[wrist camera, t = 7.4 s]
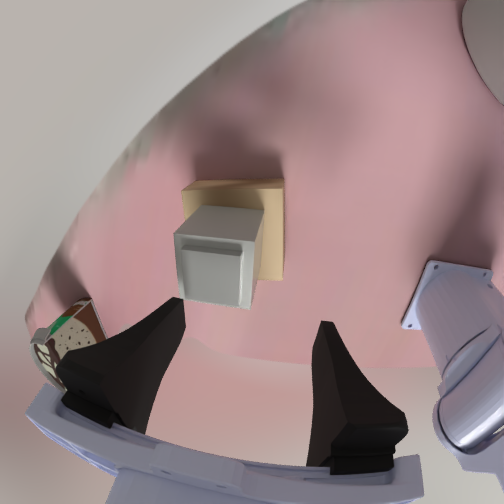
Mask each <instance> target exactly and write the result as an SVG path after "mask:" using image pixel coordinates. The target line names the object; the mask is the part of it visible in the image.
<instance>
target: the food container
mask: <svg viewBox="0 0 504 504" xmlns="http://www.w3.org/2000/svg"><path fill="white" fill-rule="evenodd" d="M106 339H108V337H107V335H106V333H105V330H104V328H103V325H102V323H101V321H100V318H99V316H98V313H97V311H96V308H95V305H94V303H93V300H92V298H83V299H80V300H78V301H77V302H76V303H75V304H74V305H73V306H71V307H70V308H69V309H68V310H67V311H66V312H64V313H63V314H62V315H61V316H60V317H59V318H58V319H57V320H55V321H54V322H53V323H52V324H51V325H50V326H49V327H48V328H39V329H37V330H36V332H35V334H34V336H33V338H32V340H31V344H30V347H29V351H30V354H31V357H32V359H33V361H34V362H35V364H36V366H37V367H38V368H39V370H40V371H41V372H42V373H43V375H44V376H45V377H46V378H47V379H48V380H49V381H50V382H51V383H52V384H53V385H54V386H55V387H56V388H57V389H59V390H60V391H62V392H63V393H64V394H65V393H66V391H67V389H66V388H65V386H64V385H63V383H62V382H61V380H60V378H59V377H58V375H57V373H56V369H55V368H56V366H57V364H58V363H59V362H60V360H61V359H62V358H63V356H64V355H65V354H66V353H67V351H69V350H74V349H78V348H83V347H86V346H90V345H93V344H96V343H99V342H101V341H104V340H106Z"/></svg>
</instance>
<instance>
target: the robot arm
mask: <svg viewBox="0 0 504 504" xmlns="http://www.w3.org/2000/svg"><path fill="white" fill-rule="evenodd" d="M435 265H437V266H436V267H435V268H434V266H435ZM492 276H493V271H492V270H489V269H483V268H477V267H472V266H466V265H459V264H453V263H447V262H441V261H435V260H430V261H429V262H428V263H427V264H426V267H425V270H424V272H423V275H422V278H421V280H420V283H419V285H418V287H417V290H416V292H415V295H414V297H413V299H412V301H411V304H410V306H409V308H408V310H407V312H406V315H405V317H404V319H403V321H402V323H401V326H402V328H403V329H416V330H422V331H423V333H424V335H425V338H426V340H427V342H428V345H429V347H430V350H431V352H432V355H433V357H434V360H435V362H436V365H437V367H438V370H439V373H440V375H441V378H442V382H441V384H440V385H439V386H438V391H439V394H440V399H439V400H438V401H437V403H436V404H435V406H434V409H433V426H434V430H435V433H436V436H437V438H438V440H439V441H440V442H441V444H442V445H443V446H444V447H445V448H446V449H448V450H449V451H450V452H451V453H453V454H454V456H456V458H457V459H458V461H459V463H460V465H461V467H462V469H463V470H464V471H468V472H475V473H489V474H495V475H496V476H497V478H498V480H499V483H500V485H501V487H502V489H503V492H504V429H502V430H501V431H499V432H497V433H495V434H493V433H494V432H495V431H497V430H498V429H499V428H500V427H502V426H503V425H504V296H503V295H502V294H501V293H500V291H499V290H498V289H497V288H496V287H495V285H494V284H493V283H492V282H491V279H492ZM409 324H410V325H409ZM185 328H186V324H185V313H184V302H183V299H180V298H175V297H172V298H171V299H169V300H168V301H167V302H165V303H164V304H163V305H161V306H160V307H159V308H158V309H156V310H155V311H154V312H152V313H151V314H150V315H148V316H147V317H145V318H144V319H143V320H141V321H140V322H138V323H137V324H135V325H133V326H132V327H130V328H129V329H127V330H125V331H124V332H121V333H119V334H117V335H115V336H113V337H111V338H108V339H106V340H104V341H101V342H99V343H96V344H93V345H90V346H86V347H83V348H78V349H74V350H69V351H67V353H66V354H65V355H64V356H63V358H62V359H61V360H60V362H59V363H58V364H57V366H56V368H55V369H56V373H57V375H58V377H59V378H60V380H61V382H62V383H63V385H64V386H65V388H66V389H67V391H66V393H65V394H64V393H63V392H62V391H60V390H59V389H57V388H55V387H54V386H52V385H50V384H49V383H45V384H44V386H43V387H42V389H41V390H40V391H39V393H38V394H37V396H36V397H35V399H34V400H33V402H32V403H31V405H30V406H29V407H28V409H27V411H26V412H25V415H26V416H27V417H28V418H29V419H30V420H31V421H32V422H33V423H34V424H35V425H36V426H37V427H38V428H39V429H40V430H41V431H42V432H43V433H44V434H45V435H46V436H47V437H49V438H50V439H52V440H53V441H55V442H56V443H58V444H59V445H61V446H62V447H64V448H65V449H67V450H69V451H70V452H72V453H74V454H75V455H77V456H78V457H80V458H82V459H83V460H85V461H87V462H88V463H90V464H92V465H94V466H95V467H97V468H99V469H101V470H103V471H105V472H107V473H109V474H110V475H113V476H114V477H116V479H115V482H114V484H113V486H112V489H111V491H110V493H109V496H108V498H107V501H106V503H105V504H409V503H411V502H413V501H416V500H418V499H420V498H422V497H423V496H424V488H423V479H422V470H421V463H420V456H419V455H418V454H416V455H410V456H403V457H398V458H395V459H393V454H394V453H395V451H396V450H395V445H396V444H397V443H399V442H400V441H401V440H402V439H403V438H404V437H405V436H406V435H407V433H408V425H407V420H406V417H405V413H404V412H402V411H401V410H400V409H398V408H397V407H396V406H394V405H393V404H392V403H390V402H389V401H388V400H387V399H386V398H385V397H384V396H383V395H381V394H380V393H379V392H378V391H377V390H376V388H375V387H374V386H373V385H372V384H371V383H370V382H369V381H368V380H367V378H366V377H365V376H364V375H363V373H362V372H361V371H360V369H359V368H358V366H357V365H356V363H355V362H354V360H353V359H352V357H351V355H350V354H349V352H348V350H347V348H346V347H345V345H344V343H343V341H342V339H341V337H340V335H339V333H338V331H337V329H336V327H335V325H334V323H333V322H329V321H321V323H320V326H319V330H318V333H317V336H316V339H315V342H314V345H313V350H312V383H313V418H312V428H311V437H310V444H309V452H308V457H307V463H306V467H305V466H288V465H277V464H268V463H259V462H252V461H246V460H240V459H233V458H229V457H224V456H218V455H214V454H209V453H205V452H201V451H197V450H193V449H189V448H185V447H182V446H178V445H175V444H171V443H168V442H165V441H162V440H159V439H156V438H153V437H150V436H147V435H145V432H146V428H147V424H148V420H149V417H150V413H151V410H152V406H153V403H154V400H155V397H156V394H157V391H158V389H159V386H160V383H161V380H162V378H163V376H164V374H165V371H166V370H167V368H168V366H169V364H170V362H171V360H172V358H173V356H174V354H175V352H176V350H177V348H178V346H179V344H180V342H181V340H182V337H183V334H184V331H185Z"/></svg>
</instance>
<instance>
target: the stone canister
mask: <svg viewBox="0 0 504 504" xmlns="http://www.w3.org/2000/svg"><path fill="white" fill-rule="evenodd" d="M264 214H265V210H257V209H246V208H235V207H223V206H211V205H201V206H200V207H199V208H198V209H197V210H196V211H195V212H194V213H193V214H192V215H191V216H190V217H189V218H188V219H187V220H186V221H185V222H184V223H183V224H182V225H181V226H180V227H179V228H178V229H177V230H176V231H175V232H174V245H175V257H176V268H177V277H178V287H179V295H180V299H183V300H189V301H195V302H201V303H208V304H214V305H221V306H228V307H235V308H242V309H250V310H251V306H252V302H253V297H254V293H255V289H256V284H257V280H258V276H259V271H260V267H261V254H262V241H263V228H264Z"/></svg>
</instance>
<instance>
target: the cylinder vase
mask: <svg viewBox="0 0 504 504" xmlns="http://www.w3.org/2000/svg"><path fill="white" fill-rule="evenodd" d="M462 27H463V33H464V38H465V41H466V45H467V48H468V51H469V53H470V56H471V58H472V60H473V63H474V65H475V67H476V69H477V71H478V72H479V74H480V76H481V78H482V79H483V81H484V83H485V84H486V86H487V87H488V88H489V90H490V91H491V93H492V94H493V95H494V96H495V97H496V99H497V100H498V101H499V102H500V103H501V104H502V105H503V106H504V0H468V1H467V2H466V3H465V5H464V8H463V12H462Z"/></svg>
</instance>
